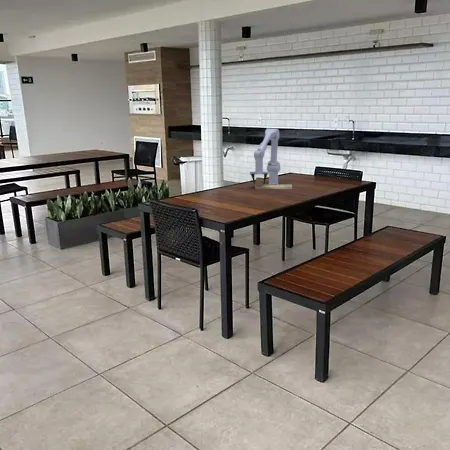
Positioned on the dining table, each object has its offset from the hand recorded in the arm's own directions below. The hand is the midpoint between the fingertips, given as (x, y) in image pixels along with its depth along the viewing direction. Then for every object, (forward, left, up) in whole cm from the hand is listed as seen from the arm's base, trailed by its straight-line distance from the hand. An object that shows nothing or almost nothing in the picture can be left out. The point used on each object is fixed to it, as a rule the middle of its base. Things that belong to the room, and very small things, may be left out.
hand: (259, 183), depth 368 cm
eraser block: (0, 0, -2) cm, 2 cm away
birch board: (0, +11, -3) cm, 11 cm away
